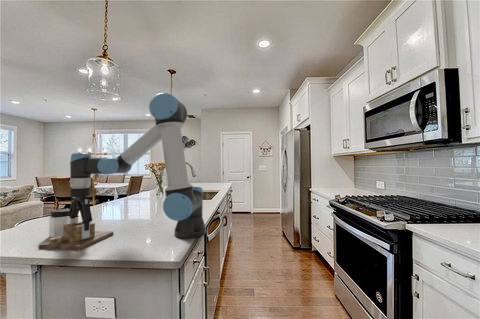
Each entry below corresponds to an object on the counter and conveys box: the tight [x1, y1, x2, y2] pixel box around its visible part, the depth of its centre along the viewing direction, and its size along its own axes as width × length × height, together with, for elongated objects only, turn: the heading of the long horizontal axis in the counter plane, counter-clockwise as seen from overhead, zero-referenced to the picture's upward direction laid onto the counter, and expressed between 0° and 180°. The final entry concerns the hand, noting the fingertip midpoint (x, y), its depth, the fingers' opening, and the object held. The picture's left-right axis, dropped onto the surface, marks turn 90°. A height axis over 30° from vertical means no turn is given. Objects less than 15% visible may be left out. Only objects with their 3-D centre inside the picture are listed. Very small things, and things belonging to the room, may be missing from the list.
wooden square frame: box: [49, 221, 96, 245], centre depth 97 cm, size 14×9×6 cm, turn 144°
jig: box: [38, 230, 114, 251], centre depth 99 cm, size 18×20×6 cm
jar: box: [48, 208, 70, 238], centre depth 108 cm, size 9×8×12 cm
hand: (79, 235), depth 99 cm, fingers open, 13 cm apart
